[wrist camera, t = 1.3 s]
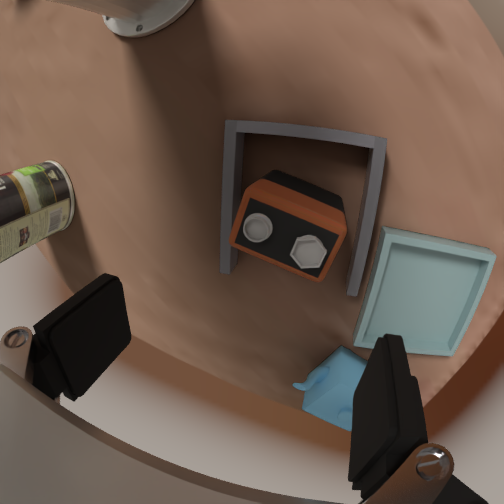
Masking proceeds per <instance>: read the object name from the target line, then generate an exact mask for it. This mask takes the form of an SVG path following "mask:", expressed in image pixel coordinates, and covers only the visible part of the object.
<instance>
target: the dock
mask: <svg viewBox="0 0 504 504" xmlns="http://www.w3.org/2000/svg"><path fill="white" fill-rule="evenodd" d="M245 133H259V134H271V135H282V136H292V137H301V138H310V139H317V140H325V141H332V142H338V143H345V144H351V145H357V146H362V147H368V148H369V155H368V163H367V170H366V177H365V184H364V190H363V197H362V203H361V209H360V214H359V220H358V225H357V231H356V236H355V241H354V246H353V251H352V256H351V260H350V265H349V269H348V274H347V278H346V295H350V296H356V297H357V294H358V290H359V286H360V282H361V279H362V275H363V271H364V266H365V262H366V258H367V254H368V249H369V245H370V240H371V236H372V231H373V226H374V221H375V216H376V210H377V205H378V199H379V193H380V187H381V181H382V175H383V168H384V161H385V153H386V145H387V139H386V138H382V137H377V136H371V135H366V134H360V133H355V132H349V131H342V130H336V129H329V128H321V127H314V126H305V125H296V124H286V123H274V122H261V121H243V120H225V135H224V154H223V176H222V201H221V232H220V273H224V274H229V275H230V273H231V272H232V270H233V269H234V268H235V266H236V265H237V260H238V249H237V248H235V247H233V246H231V245H230V243H229V237H230V233H231V230H232V227H233V224H234V221H235V218H236V215H237V212H238V209H239V206H240V202H241V184H242V167H243V151H244V135H245Z"/></svg>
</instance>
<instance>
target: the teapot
mask: <svg viewBox="0 0 504 504" xmlns="http://www.w3.org/2000/svg"><path fill="white" fill-rule="evenodd" d="M367 363H368V361H366V360H365V359H363V358H361V357H360V356H358V355H356V354H355V353H353V352H352V351H351V350H350V349H347V348H345V347H343V346H342V345H341V346H340V347H339V348H338V349H336V350H335V351H334V352H333V353H332V354H331V355H330V356H329V357H328V358H326V359H325V360H324V361H323V362H322V363H321V364H320V365H319V366H317V367H316V368H315V369H314V370H313V371H311V372H310V373H309V374H308V377H307V379H306V381H305V382H304V383H293V386H294V387H295V388H297V389H299V390H302V391H305V395H304V401H303V406H302V409H303V410H304V411H306V412H308V413H310V414H312V415H314V416H317V417H318V418H321V419H323V420H325V421H327V422H329V423H331V424H334V425H336V426H338V427H340V428H343V429H345V430H347V431H351V430H352V410H353V395H354V392H355V389H356V387H357V385H358V383H359V381H360V378H361V376H362V374H363V372H364V369H365V367H366V365H367Z"/></svg>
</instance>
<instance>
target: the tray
mask: <svg viewBox="0 0 504 504" xmlns="http://www.w3.org/2000/svg"><path fill="white" fill-rule="evenodd" d="M495 259H496V255H495V254H494V253H493V252H492V251H491V250H490V249H489V248H485V247H481V246H477V245H472V244H468V243H464V242H459V241H455V240H450V239H445V238H441V237H436V236H431V235H426V234H421V233H416V232H411V231H406V230H401V229H396V228H390V227H385V226H382V229H381V233H380V238H379V242H378V247H377V251H376V255H375V259H374V263H373V267H372V271H371V275H370V279H369V283H368V286H367V290H366V294H365V297H364V301H363V304H362V307H361V311H360V314H359V317H358V320H357V324H356V327H355V330H354V333H353V346H357V347H364V348H372V349H373V348H374V346H375V343H376V341H377V339H378V337H383V336H384V334H386V333H387V334H394V335H401V336H402V338H403V342H404V346H405V351H406V352H407V353H417V354H429V355H441V356H453V355H454V353H455V351H456V349H457V347H458V346H459V344H460V342H461V340H462V338H463V336H464V334H465V332H466V330H467V328H468V326H469V324H470V321H471V319H472V317H473V315H474V313H475V311H476V308H477V306H478V304H479V301H480V299H481V297H482V294H483V292H484V289H485V287H486V284H487V282H488V279H489V276H490V273H491V271H492V268H493V265H494V262H495Z"/></svg>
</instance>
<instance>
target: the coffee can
mask: <svg viewBox="0 0 504 504" xmlns="http://www.w3.org/2000/svg"><path fill="white" fill-rule="evenodd" d="M74 207H75V201H74V193H73V188H72V184H71V181H70V179H69V176H68V174H67V173H66V171H65V170H64V168H63V167H62V166H61V165H60V164H58V163H57V162H55V161H51V160H49V161H45V162H43V163H39V164H36V165H32V166H29V167H25V168H22V169H18V170H15V171H12V172H8V173H5V174H2V175H0V263H2V262H3V261H5V260H7V259H8V258H10V257H12V256H14V255H15V254H17V253H19V252H21V251H23V250H24V249H26V248H28V247H30V246H32V245H34V244H35V243H37V242H39V241H41V240H43V239H45V238H47V237H49V236H51V235H53V234H55V233H57V232H59V231H61V230H64V229H66V228H67V227H68V226H69V225H70V223H71V221H72V218H73V215H74Z"/></svg>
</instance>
